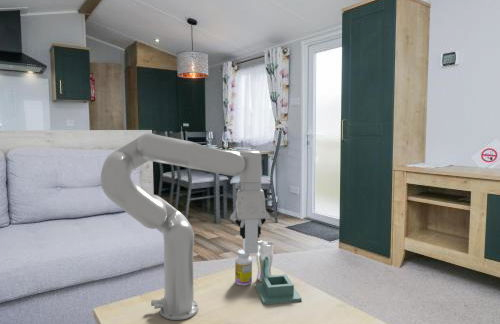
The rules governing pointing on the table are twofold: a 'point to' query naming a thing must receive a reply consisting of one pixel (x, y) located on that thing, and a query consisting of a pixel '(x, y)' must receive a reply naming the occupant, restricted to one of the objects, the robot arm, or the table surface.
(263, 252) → the beer glass
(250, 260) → the supplement bottle
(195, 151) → the robot arm
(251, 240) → the silver square block
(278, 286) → the well
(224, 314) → the table surface
